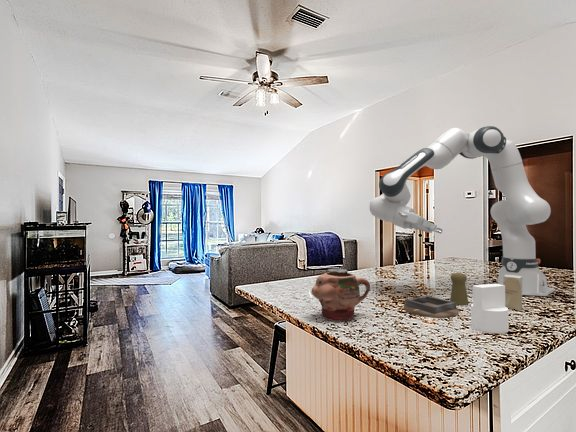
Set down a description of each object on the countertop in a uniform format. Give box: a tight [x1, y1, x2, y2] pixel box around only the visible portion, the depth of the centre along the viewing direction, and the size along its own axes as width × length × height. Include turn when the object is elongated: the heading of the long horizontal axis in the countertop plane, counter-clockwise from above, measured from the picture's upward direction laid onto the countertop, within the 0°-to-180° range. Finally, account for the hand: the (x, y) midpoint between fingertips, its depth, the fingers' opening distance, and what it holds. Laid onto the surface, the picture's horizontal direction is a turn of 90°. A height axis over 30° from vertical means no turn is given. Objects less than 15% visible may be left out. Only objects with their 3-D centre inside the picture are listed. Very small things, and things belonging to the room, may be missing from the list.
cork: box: [449, 272, 469, 306], centre depth 117 cm, size 6×6×11 cm
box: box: [503, 275, 523, 311], centre depth 110 cm, size 5×4×11 cm
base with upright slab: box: [470, 283, 510, 334], centre depth 91 cm, size 9×9×12 cm
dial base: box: [403, 295, 460, 319], centre depth 109 cm, size 17×17×3 cm
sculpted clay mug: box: [311, 271, 371, 322], centre depth 103 cm, size 20×12×14 cm, turn 110°
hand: (438, 229), depth 123 cm, fingers open, 8 cm apart
